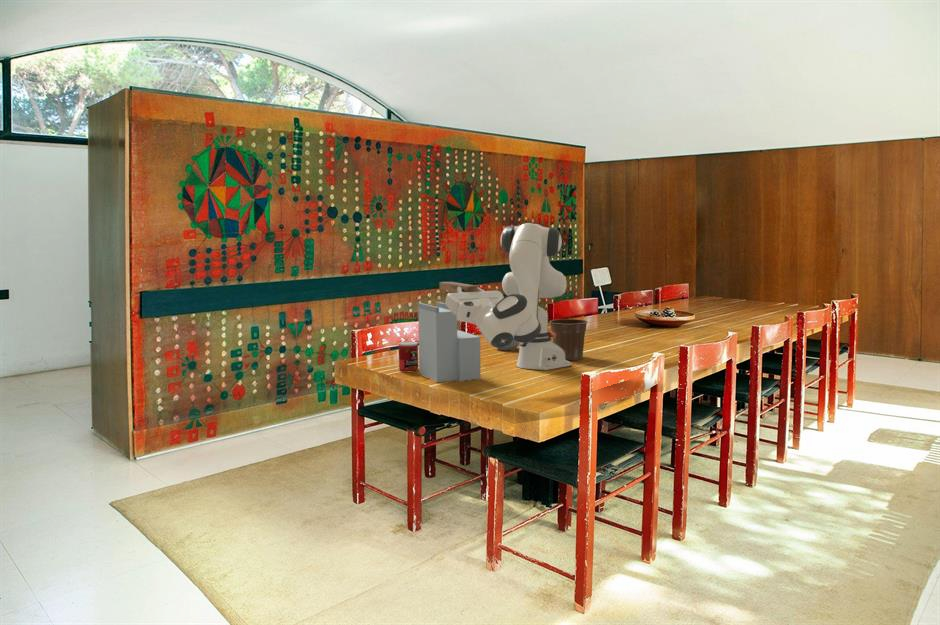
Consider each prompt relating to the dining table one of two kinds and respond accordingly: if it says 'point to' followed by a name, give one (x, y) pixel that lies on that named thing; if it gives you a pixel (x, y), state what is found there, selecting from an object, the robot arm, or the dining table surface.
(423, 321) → the step box
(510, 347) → the coffee pot
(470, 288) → the brown bar
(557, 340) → the plant pot
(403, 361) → the canned food
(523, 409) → the dining table surface
